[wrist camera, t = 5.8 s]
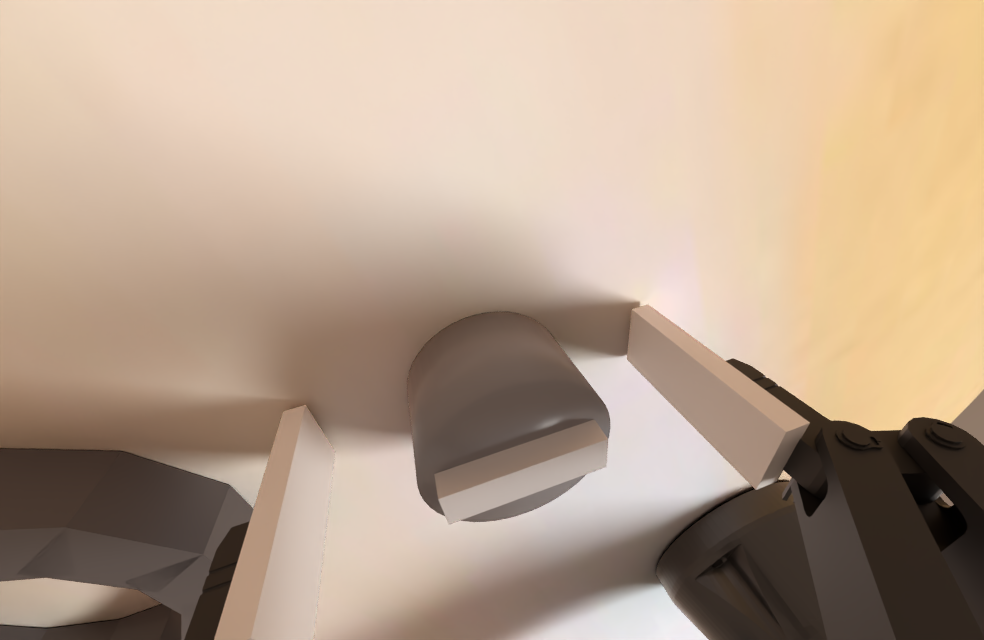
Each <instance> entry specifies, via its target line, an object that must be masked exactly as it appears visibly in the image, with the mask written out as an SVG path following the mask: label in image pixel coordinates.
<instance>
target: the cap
mask: <svg viewBox="0 0 984 640" xmlns="http://www.w3.org/2000/svg"><path fill="white" fill-rule="evenodd" d="M407 393H408V403H409V412H410V421H411V430H412V439H413V449H414V458H415V467H416V476H417V485H418V489H419V492H420V495H421V496H422V498H423V500H424V501H425V502H426V503H427V504H428V505H429V506H430V507H431V508H432V509H433V510H435V511H436V512H438V513H440V514H442V515H444V516H445V517H446V519H447V521H448V524H452V523H455V522H458V521H460V520H461V521H470V522H486V521H495V520H501V519H506V518H510V517H514V516H518V515H521V514H524V513H527V512H529V511H532V510H534V509H536V508H539V507H541V506H543V505H545V504H547V503H549V502H551V501H552V500H554V499H556V498H557V497H559V496H561V495H562V494H563V493H565V492H566V491H568V490H569V489H570V488H572V487H573V486H574V485H575V484H577V483H578V482H579V481H580V480H581V479H582V478H583V477H584V476H585V475H586V474H588V473H591V472H593V471H596V470H599V469H602V468H604V467H606V463H607V448H608V438H609V433H610V417H609V412H608V410H607V408H606V405H605V404H604V402H603V401H602V400H601V398H600V397H599V396H598V395H597V393H596V392H595V391H594V389H593V388H592V387H591V386H590V384H589V383H588V382H587V380H586V379H585V378H584V376H583V375H582V374H581V373H580V371H579V370H578V369H577V367H576V366H575V365H574V364H573V362H572V361H571V360H570V358H569V357H568V356H567V354H566V353H565V352H564V351H563V349H562V348H561V347H560V345H559V344H558V343H557V342H556V340H555V339H554V338H553V336H552V335H551V334H550V333H549V331H548V330H547V329H546V328H545V327H544V326H543V325H541V324H540V323H538V322H537V321H535V320H534V319H532V318H529V317H527V316H524V315H521V314H517V313H511V312H487V313H481V314H477V315H473V316H470V317H467V318H464V319H461V320H459V321H457V322H455V323H453V324H451V325H449V326H448V327H446V328H444V329H443V330H441V331H440V332H439V333H437V334H436V335H435V336H434V337H432V338H431V339H430V340H429V341H428V342H427V343H426V344H425V346H424V347H423V348H422V349H421V351H420V352H419V353H418V355H417V356H416V358H415V360H414V362H413V364H412V366H411V369H410V372H409V376H408V381H407Z"/></svg>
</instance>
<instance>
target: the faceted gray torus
mask: <svg viewBox="0 0 984 640" xmlns="http://www.w3.org/2000/svg"><path fill="white" fill-rule="evenodd" d="M252 513H253V508H252V507H251V506H250V505H249V504H248V503H247V502H246V501H245V500H244V499H243V498H242V497H241V496H240V495H239V494H238V493H237V492H236V491H235V490H234V489H233V488H232V487H231V486H230V485H228V484H224V483H221V482H218V481H215V480H212V479H208V478H205V477H202V476H199V475H196V474H192V473H189V472H186V471H183V470H180V469H176V468H173V467H170V466H167V465H164V464H160V463H157V462H154V461H151V460H148V459H145V458H141V457H138V456H135V455H132V454H129V453H125V452H122V451H83V450H35V449H0V581H12V580H24V579H35V578H52V579H60V580H68V581H75V582H83V583H91V584H99V585H106V586H114V587H122V588H129V589H137V590H139V591H141V592H142V593H144V594H146V595H148V596H149V597H151V598H153V599H155V600H157V601H158V602H160V603H162V605H159V606H157V607H154V608H151V609H148V610H145V611H143V612H140V613H137V614H134V615H131V616H128V617H126V618H123V619H120V620H112V621H104V622H96V623H89V624H81V625H73V626H65V627H57V628H50V629H45V628H30V627H16V626H1V625H0V640H184V639H185V636H186V633H187V630H188V628H189V625H190V622H191V619H192V616H193V614H194V611H195V608H196V605H197V603H198V600H199V597H200V595H202V589H203V586H204V583H205V580H206V577H207V576H209V569H210V566H211V563H212V561H213V558H214V555H215V552H216V550H217V548H218V546H219V545H220V544H221V542H222V541H223V539H224V538H225V536H226V535H227V533H228V532H229V530H230V529H231V527H234V526H237V525H240V524H243V523H246V522H249V521H250V519H251V516H252Z"/></svg>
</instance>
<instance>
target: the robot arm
mask: <svg viewBox="0 0 984 640" xmlns="http://www.w3.org/2000/svg"><path fill="white" fill-rule="evenodd" d="M627 360H628V361H629V362H630V363H631V364H632V365H633V366H634V367H635V368H636V369H637V370H638V371H639V372H640V373H641V374H642V375H643V376H644V377H645V378H646V379H647V380H648V381H649V382H650V383H651V384H652V385H653V386H654V387H655V388H656V389H657V390H658V391H659V392H660V393H661V395H662V396H663V397H664V398H665V399H666V400H667V401H668V402H669V403H670V404H671V405H672V406H673V407H674V408H675V409H676V410H677V411H678V412H679V413H680V414H681V415H682V416H683V417H684V418H685V419H686V420H687V421H688V422H689V423H690V424H691V425H692V426H693V427H694V428H695V429H696V430H697V431H698V432H699V433H700V434H701V435H702V436H703V437H704V438H705V439H706V440H707V441H708V442H709V443H710V444H711V445H712V446H713V447H714V448H715V449H716V450H717V451H718V452H719V453H720V454H721V455H722V456H723V457H724V458H725V459H726V460H727V461H728V462H729V463H730V464H731V465H732V466H733V467H734V468H735V469H736V470H737V471H738V472H739V473H740V474H741V475H742V476H743V477H744V478H745V479H746V480H747V481H748V482H749V483H750V484H751V486H752V487H753V488H754V490H751V491H749V492H747V493H745V494H742V495H740V496H738V497H736V498H734V499H732V500H730V501H729V502H727V503H725V504H723V505H722V506H720V507H718V508H717V509H715V510H713V511H712V512H710V513H709V514H707V515H706V516H704V517H703V518H702V519H700V520H699V521H698V522H696V523H695V524H694V525H692V526H691V527H690V528H689V529H687V530H686V531H685V532H684V533H683V534H682V535H681V536H680V537H678V538H677V539H676V540H675V541H674V542H673V543H672V545H671V546H670V547H669V548H668V549H667V550H666V552H665V553H664V554H663V556H662V557H661V559H660V561H659V563H658V565H657V569H656V574H657V577H658V578H659V580H660V582H661V583H662V585H663V587H664V588H665V590H666V592H667V593H668V595H669V597H670V598H671V600H672V601H673V602H674V604H675V605H676V606H677V607H678V608H679V609H680V610H681V611H682V612H683V614H684V615H685V616H686V617H687V618H688V619H689V620H690V621H691V622H692V623H693V624H694V625H695V626H696V627H697V628H698V629H699V630H700V631H701V632H702V633H703V634H704V635H705V636H706V637H707V638H708V639H709V640H984V445H982V444H981V443H980V442H979V441H978V440H977V439H976V438H974V437H973V436H971V435H970V434H969V433H967V432H966V431H964V430H962V429H960V428H958V427H956V426H954V425H952V424H950V423H947V422H944V421H940V420H937V419H931V418H925V417H922V418H913V419H912V420H910V421H909V422H908V423H907V424H906V425H905V427H904V428H903V429H902V430H893V431H870V430H868V429H866V428H864V427H862V426H860V425H857V424H853V423H850V422H846V421H830V420H829V419H827V418H826V417H824V416H822V415H821V414H820V413H818V412H817V411H815V410H814V409H812V408H811V407H809V406H808V405H807V404H805V403H804V402H802V401H801V400H799V399H798V398H796V397H795V396H794V395H792V394H791V393H789V392H788V391H786V390H785V389H784V388H782V387H781V386H780V387H779V386H777V384H776V383H775V382H773V381H772V380H771V379H769V378H766V377H765V375H763V374H762V373H760V372H759V371H758V370H756V369H755V368H753V367H752V366H750V365H748V364H745V363H743V362H740V361H738V360H736V359H730V360H727V361H725V360H723V359H722V358H721V357H719V356H718V355H717V354H715V353H714V352H712V351H711V350H710V349H708V348H707V347H706V346H704V345H703V344H701V343H700V342H699V341H697V340H696V339H695V338H693V337H692V336H691V335H689V334H688V333H686V332H685V331H684V330H682V329H681V328H680V327H678V326H677V325H675V324H674V323H673V322H671V321H670V320H669V319H667V318H666V317H665V316H663V315H662V314H660V313H659V312H658V311H656V310H655V309H654V308H652V307H651V306H649V305H644V306H641V307H638V308H634V309H632V313H631V322H630V332H629V342H628V352H627ZM334 460H335V450H334V449H333V447H332V445H331V444H330V442H329V441H328V439H327V438H326V436H325V434H324V433H323V431H322V430H321V428H320V427H319V425H318V424H317V422H316V420H315V419H314V417H313V416H312V414H311V413H310V411H309V409H308V408H307V406H306V405H303V406H300V407H296V408H293V409H289V410H286V411H283V414H282V417H281V420H280V424H279V427H278V430H277V433H276V437H275V440H274V443H273V447H272V450H271V453H270V457H269V460H268V463H267V466H266V470H265V473H264V476H263V480H262V483H261V486H260V490H259V493H258V496H257V499H256V503H255V506H254V509H253V513H252V516H251V519H250V521H249V522H246V523H243V524H240V525H237V526H234V527H231V529H230V530H229V532H228V533H227V535H226V536H225V538H224V539H223V541H222V542H221V544H220V545H219V546H218V548H217V550H216V552H215V555H214V558H213V561H212V563H211V566H210V569H209V576H207V577H206V580H205V583H204V586H203V589H202V595H200V597H199V600H198V603H197V605H196V608H195V611H194V614H193V616H192V619H191V622H190V625H189V628H188V630H187V633H186V636H185V639H184V640H314V632H315V624H316V615H317V607H318V598H319V589H320V581H321V572H322V564H323V555H324V546H325V538H326V529H327V521H328V512H329V503H330V495H331V486H332V478H333V469H334ZM783 470H784V471H786V472H787V473H788V474H789V475H790V476H791V477H792V478H791V480H790V482H778V483H774V482H777V480H778V478H779V477H780V475H781V473H782V471H783ZM772 483H773V484H772ZM943 493H944V494H945V495H946V496H947V497H948V498H949V499H950V500H951V501H952V502H953V504H954V505H953V506H949V505H948V504H947V503H945V502H944V501H943V500H942V498H941V497H940V495H941V494H943Z"/></svg>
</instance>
